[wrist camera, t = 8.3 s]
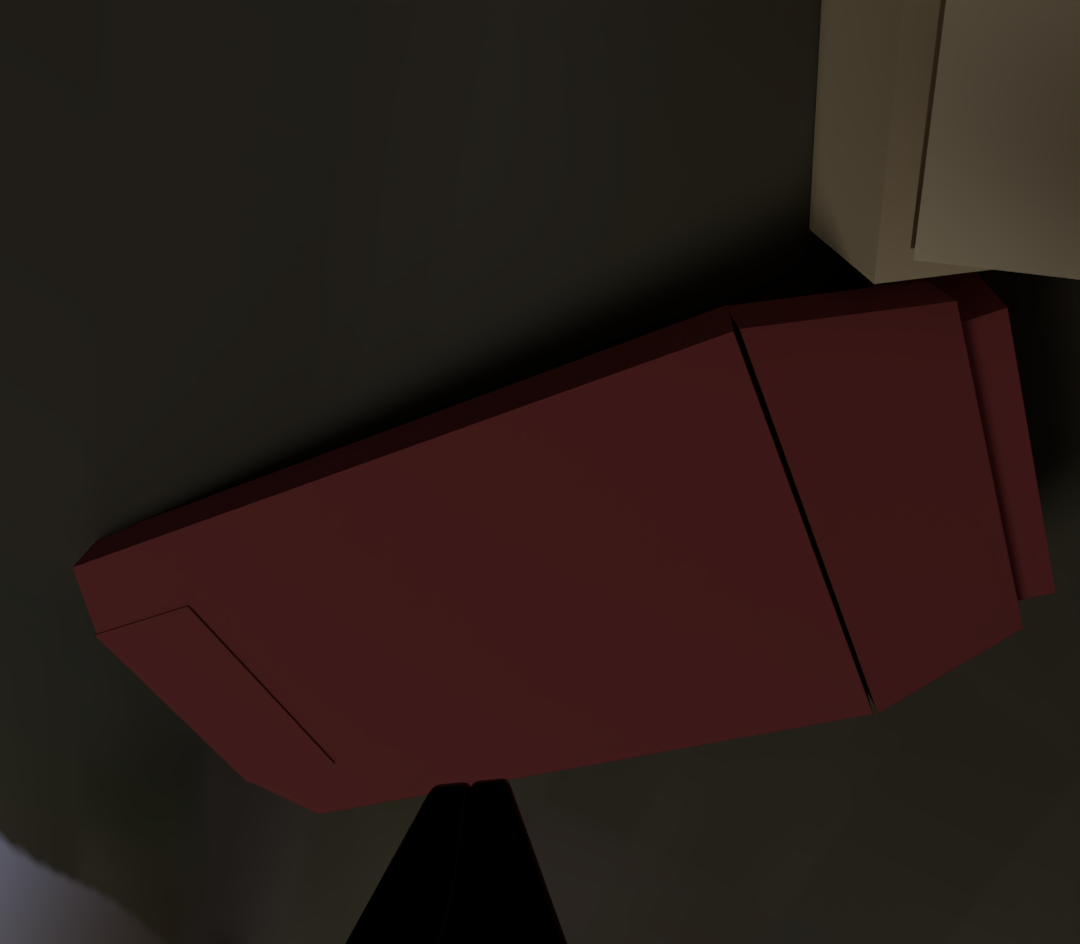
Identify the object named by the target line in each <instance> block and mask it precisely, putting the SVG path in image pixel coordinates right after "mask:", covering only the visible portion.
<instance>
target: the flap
mask: <svg viewBox="0 0 1080 944" xmlns="http://www.w3.org/2000/svg"><path fill="white" fill-rule="evenodd" d="M914 260H916V261H925V262H933V263H942V264H950V265H959V266H967V267H976V268H984V269H993V270H1002V271H1010V272H1019V273H1027V274H1036V275H1044V276H1053V277H1061V278H1070V279H1078V280H1080V0H946V5H945V13H944V21H943V29H942V37H941V45H940V53H939V60H938V68H937V76H936V84H935V92H934V100H933V108H932V116H931V124H930V132H929V140H928V148H927V156H926V164H925V172H924V180H923V188H922V196H921V204H920V212H919V220H918V228H917V236H916V244H915V252H914Z"/></svg>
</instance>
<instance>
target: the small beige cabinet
mask: <svg viewBox="0 0 1080 944" xmlns="http://www.w3.org/2000/svg"><path fill="white" fill-rule="evenodd" d="M945 5H946V0H822V6H821V25H820V43H819V61H818V79H817V97H816V115H815V134H814V152H813V170H812V188H811V206H810V224H809V229H810V230H811V231H812V232H813V233H814V234H816V235H817V236H818V237H819V238H820V239H821V240H823V241H824V242H825V243H826V244H827V245H829V246H830V247H831V248H832V249H833V250H835V251H836V252H837V253H838V254H839V255H840V256H842V257H843V258H844V259H845V260H846V261H848V262H849V263H850V264H851V265H852V266H854V267H855V268H856V269H857V270H858V271H859V272H861V273H862V274H863V275H864V276H865V277H867V278H868V279H869V280H870V281H871V282H872V283H874V284H879V283H887V282H895V281H903V280H911V279H920V278H928V277H936V276H944V275H952V274H960V273H968V272H976V271H985V270H993V269H984V268H976V267H967V266H959V265H950V264H942V263H933V262H925V261H916V260H914V252H915V244H916V236H917V228H918V220H919V212H920V204H921V196H922V188H923V180H924V172H925V164H926V156H927V148H928V140H929V132H930V124H931V116H932V108H933V100H934V92H935V84H936V76H937V68H938V60H939V53H940V45H941V37H942V29H943V21H944V13H945Z"/></svg>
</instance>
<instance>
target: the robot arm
mask: <svg viewBox="0 0 1080 944" xmlns="http://www.w3.org/2000/svg"><path fill="white" fill-rule="evenodd" d="M346 944H567V942H566V939H565V937H564V934H563V931H562V928H561V925H560V923H559V920H558V917H557V914H556V911H555V909H554V906H553V903H552V900H551V897H550V895H549V892H548V889H547V886H546V883H545V881H544V878H543V875H542V872H541V869H540V867H539V864H538V861H537V858H536V855H535V853H534V850H533V847H532V844H531V841H530V839H529V836H528V833H527V830H526V827H525V825H524V822H523V819H522V816H521V813H520V811H519V808H518V805H517V802H516V800H515V797H514V794H513V791H512V788H511V786H510V784H509V782H508V780H507V779H504V778H500V779H489V780H479V781H476V782H474V783H473V784H472V786H470V784H469V783H467V782H458V783H448V784H439V785H436V786H435V787H433V788H432V789H431V790H430V792H429V793H428V795H427V797H426V799H425V800H424V802H423V804H422V806H421V808H420V810H419V811H418V813H417V815H416V817H415V819H414V820H413V822H412V824H411V826H410V828H409V829H408V831H407V833H406V835H405V837H404V839H403V840H402V842H401V844H400V846H399V848H398V849H397V851H396V853H395V855H394V857H393V858H392V860H391V862H390V864H389V866H388V868H387V869H386V871H385V873H384V875H383V877H382V878H381V880H380V882H379V884H378V886H377V888H376V889H375V891H374V893H373V895H372V897H371V898H370V900H369V902H368V904H367V906H366V907H365V909H364V911H363V913H362V915H361V917H360V918H359V920H358V922H357V924H356V926H355V927H354V929H353V931H352V933H351V935H350V936H349V938H348V940H347V942H346Z"/></svg>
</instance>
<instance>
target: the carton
mask: <svg viewBox="0 0 1080 944" xmlns="http://www.w3.org/2000/svg"><path fill="white" fill-rule="evenodd" d="M866 282H867V286H868V288H862V289H854V290H846V291H839V292H831V293H823V294H816V295H808V296H800V297H792V298H785V299H777V300H769V301H761V302H754V303H746V304H738V305H730V306H729V305H725V306H722V307H720V308H717V309H714V310H711V311H709V312H706V313H703V314H701V315H698V316H695V317H693V318H690V319H687V320H684V321H682V322H679V323H676V324H674V325H671V326H668V327H665V328H663V329H660V330H657V331H655V332H652V333H649V334H647V335H644V336H641V337H638V338H636V339H633V340H630V341H628V342H625V343H622V344H620V345H617V346H614V347H611V348H609V349H606V350H603V351H601V352H598V353H595V354H593V355H590V356H587V357H584V358H582V359H579V360H576V361H574V362H571V363H568V364H566V365H563V366H560V367H557V368H555V369H552V370H549V371H547V372H544V373H541V374H538V375H536V376H533V377H530V378H528V379H525V380H522V381H520V382H517V383H514V384H511V385H509V386H506V387H503V388H501V389H498V390H495V391H493V392H490V393H487V394H484V395H482V396H479V397H476V398H474V399H471V400H468V401H466V402H463V403H460V404H457V405H455V406H452V407H449V408H447V409H444V410H441V411H439V412H436V413H433V414H430V415H428V416H425V417H422V418H420V419H417V420H414V421H411V422H409V423H406V424H403V425H401V426H398V427H395V428H393V429H390V430H387V431H384V432H382V433H379V434H376V435H374V436H371V437H368V438H366V439H363V440H360V441H357V442H355V443H352V444H349V445H347V446H344V447H341V448H339V449H336V450H333V451H330V452H328V453H325V454H322V455H320V456H317V457H314V458H312V459H309V460H306V461H303V462H301V463H298V464H295V465H293V466H290V467H287V468H284V469H282V470H279V471H276V472H274V473H271V474H268V475H266V476H263V477H260V478H257V479H255V480H252V481H249V482H247V483H244V484H241V485H239V486H236V487H233V488H230V489H228V490H225V491H222V492H220V493H217V494H214V495H212V496H209V497H206V498H203V499H201V500H198V501H195V502H193V503H190V504H187V505H185V506H182V507H179V508H176V509H174V510H171V511H168V512H166V513H163V514H160V515H158V516H155V517H152V518H149V519H147V520H144V521H141V522H139V523H136V524H134V525H132V526H130V527H128V528H125V529H123V530H121V531H119V532H117V533H114V534H112V535H110V536H108V537H105V538H103V539H101V540H99V541H97V542H95V543H94V544H93V545H92V546H91V547H90V549H89V550H88V551H87V552H86V553H85V554H84V555H83V556H82V558H81V559H80V560H79V561H78V562H77V563H76V564H75V565H74V566H73V570H74V573H75V576H76V578H77V581H78V584H79V587H80V589H81V592H82V595H83V598H84V600H85V603H86V606H87V608H88V611H89V614H90V617H91V619H92V622H93V625H94V628H95V630H96V635H95V636H96V637H97V638H98V639H99V640H100V641H101V642H102V643H103V644H104V645H105V646H106V647H107V648H108V649H110V650H111V651H112V652H113V653H114V654H115V655H116V656H117V657H118V658H119V659H120V660H121V661H122V662H123V663H124V664H125V665H126V666H127V667H128V668H129V669H130V670H131V671H132V672H133V673H134V674H136V675H137V676H138V677H139V678H140V679H141V680H142V681H143V682H144V683H145V684H146V685H147V686H148V687H149V688H150V689H151V690H152V691H153V692H154V693H155V694H156V695H157V696H158V697H159V698H160V699H162V700H163V701H164V702H165V703H166V704H167V705H168V706H169V707H170V708H171V709H172V710H173V711H174V712H175V713H176V714H177V715H178V716H179V717H180V718H181V719H182V720H183V721H184V722H185V723H186V724H188V725H189V726H190V727H191V728H192V729H193V730H194V731H195V732H196V733H197V734H198V735H199V736H200V737H201V738H202V739H203V740H204V741H205V742H206V743H207V744H208V745H209V746H210V747H211V748H212V749H214V750H215V751H216V752H217V753H218V754H219V755H220V756H221V757H222V758H223V759H224V760H225V761H226V762H227V763H228V764H229V765H230V766H231V767H232V768H233V769H234V770H235V771H236V772H237V773H238V774H240V775H241V776H242V777H243V778H244V779H245V780H246V781H247V782H252V783H254V784H256V785H258V786H260V787H263V788H265V789H267V790H269V791H271V792H273V793H275V794H277V795H280V796H282V797H284V798H286V799H288V800H290V801H292V802H294V803H297V804H299V805H301V806H303V807H305V808H307V809H309V810H311V811H314V812H316V813H318V814H321V813H326V812H332V811H337V810H343V809H349V808H354V807H360V806H365V805H371V804H376V803H382V802H387V801H393V800H398V799H404V798H409V797H415V796H421V795H426V794H428V793H429V792H430V790H431V789H432V788H433V787H435V786H436V785H439V784H448V783H458V782H467V783H469V784H470V786H472V784H473V783H474V782H476V781H479V780H489V779H500V778H504V779H507V780H509V779H515V778H520V777H526V776H531V775H537V774H542V773H548V772H554V771H559V770H565V769H570V768H576V767H581V766H587V765H592V764H598V763H603V762H609V761H615V760H620V759H626V758H631V757H637V756H642V755H648V754H653V753H659V752H664V751H670V750H676V749H681V748H687V747H692V746H698V745H703V744H709V743H714V742H720V741H725V740H731V739H736V738H742V737H748V736H753V735H759V734H764V733H770V732H775V731H781V730H786V729H792V728H797V727H803V726H809V725H814V724H820V723H825V722H831V721H836V720H842V719H847V718H853V717H858V716H864V715H870V714H873V713H872V709H871V705H870V701H869V698H868V694H869V696H870V698H871V699H872V701H873V703H874V705H875V707H876V709H877V711H878V713H879V712H881V711H883V710H884V709H886V708H888V707H889V706H891V705H893V704H894V703H896V702H898V701H900V700H901V699H903V698H905V697H906V696H908V695H910V694H911V693H913V692H915V691H917V690H918V689H920V688H922V687H923V686H925V685H927V684H929V683H930V682H932V681H934V680H935V679H937V678H939V677H940V676H942V675H944V674H946V673H947V672H949V671H951V670H952V669H954V668H956V667H957V666H959V665H961V664H963V663H964V662H966V661H968V660H969V659H971V658H973V657H975V656H976V655H978V654H980V653H981V652H983V651H985V650H986V649H988V648H990V647H992V646H993V645H995V644H997V643H998V642H1000V641H1002V640H1003V639H1005V638H1007V637H1009V636H1010V635H1012V634H1014V633H1015V632H1017V631H1019V630H1021V629H1022V628H1023V625H1022V620H1021V616H1020V611H1019V606H1018V600H1023V599H1027V598H1032V597H1037V596H1041V595H1046V594H1051V593H1055V587H1054V581H1053V575H1052V569H1051V563H1050V557H1049V551H1048V545H1047V539H1046V533H1045V527H1044V522H1043V516H1042V510H1041V504H1040V498H1039V492H1038V486H1037V480H1036V474H1035V468H1034V462H1033V456H1032V450H1031V444H1030V438H1029V433H1028V427H1027V421H1026V415H1025V409H1024V403H1023V397H1022V391H1021V385H1020V379H1019V373H1018V367H1017V361H1016V355H1015V349H1014V343H1013V338H1012V332H1011V326H1010V320H1009V314H1008V308H1007V306H1006V305H1005V304H1004V303H1003V302H1002V301H1001V300H1000V299H999V298H998V296H997V295H996V294H995V293H994V292H993V291H992V290H991V289H990V287H989V286H988V285H987V284H986V283H985V282H984V281H983V280H982V278H981V277H980V276H979V275H978V274H977V273H976V272H968V273H960V274H952V275H944V276H936V277H928V278H920V279H911V280H903V281H895V282H887V283H879V284H874V283H872V282H871V281H870V280H869V279H867V280H866ZM867 692H868V694H867Z"/></svg>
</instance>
